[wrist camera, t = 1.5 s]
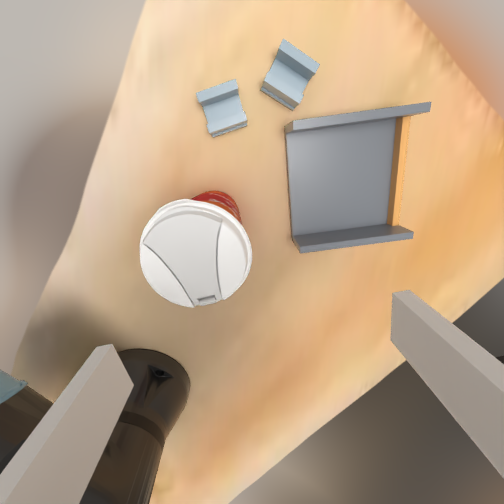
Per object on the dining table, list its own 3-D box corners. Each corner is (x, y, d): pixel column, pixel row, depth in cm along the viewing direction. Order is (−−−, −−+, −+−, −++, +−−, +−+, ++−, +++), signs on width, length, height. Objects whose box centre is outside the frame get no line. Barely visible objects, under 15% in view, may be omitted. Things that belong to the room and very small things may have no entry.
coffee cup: (254, 236, 32) (264, 299, 18) (195, 251, 32) (159, 324, 18) (237, 171, 29) (234, 187, 15) (172, 189, 29) (108, 220, 15)
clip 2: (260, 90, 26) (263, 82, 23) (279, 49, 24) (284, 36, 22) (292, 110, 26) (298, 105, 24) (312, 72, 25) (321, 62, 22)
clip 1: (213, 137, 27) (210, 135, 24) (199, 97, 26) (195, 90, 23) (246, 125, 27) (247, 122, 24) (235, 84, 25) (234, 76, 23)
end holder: (292, 239, 32) (300, 253, 28) (284, 126, 27) (292, 120, 23) (389, 226, 32) (412, 238, 28) (399, 110, 27) (431, 101, 22)
